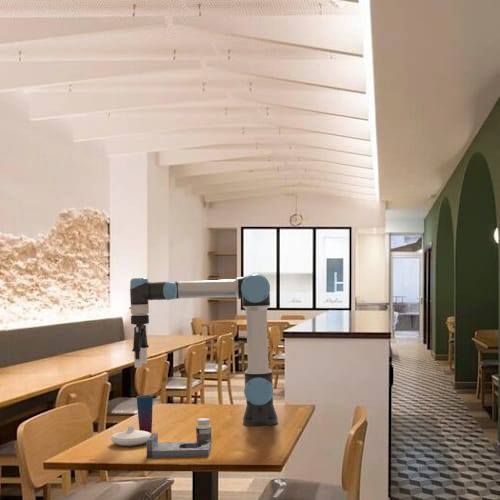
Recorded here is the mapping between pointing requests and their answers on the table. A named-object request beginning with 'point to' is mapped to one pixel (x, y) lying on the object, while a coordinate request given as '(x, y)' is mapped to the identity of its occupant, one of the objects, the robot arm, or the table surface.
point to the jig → (176, 448)
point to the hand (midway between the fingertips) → (141, 365)
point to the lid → (130, 437)
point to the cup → (145, 412)
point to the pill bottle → (203, 430)
